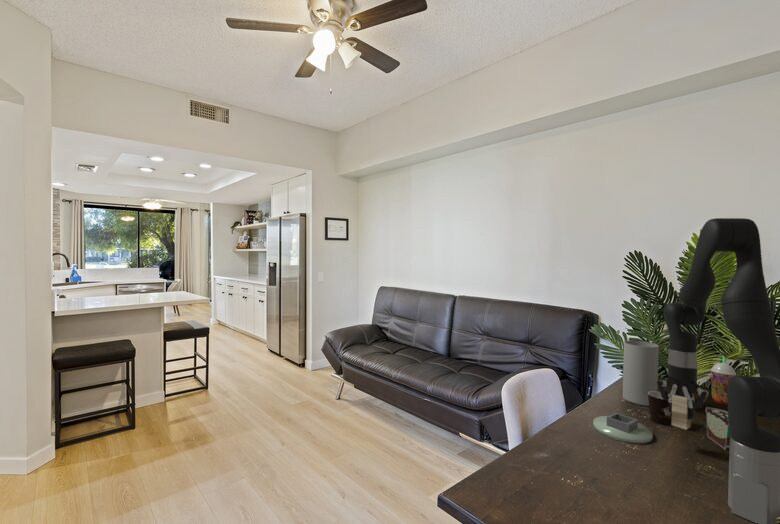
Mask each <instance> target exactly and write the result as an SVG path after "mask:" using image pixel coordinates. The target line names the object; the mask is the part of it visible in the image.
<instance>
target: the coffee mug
mask: <svg viewBox="0 0 780 524" xmlns="http://www.w3.org/2000/svg"><path fill="white" fill-rule="evenodd" d="M668 395H669V396H670V393H668ZM648 400H649V406H648V408H649V416H650V419H649V420H650V421H651V422H653V423H654V424H658V425H661V426H672V414H671V412H669V402H668V401H667V400H665V399H663V398H662V396H661V393H660V391H657V392H656V391H651V392H648Z"/></svg>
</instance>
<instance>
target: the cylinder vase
mask: <svg viewBox="0 0 780 524" xmlns="http://www.w3.org/2000/svg"><path fill="white" fill-rule="evenodd" d="M659 347H660V345H659V344H657V343H652V342H649V341H641V340H624V341H623V361H622V362H623V363H622V364H623V365H622V366H623V368H622V369H623V370H622V371H623V372H622V398H623V399H624V400H625V401H627V402H629V403H632V404H635V405H639V406H647V407H649V400H648V392H651V391H656V392H658V384H657V381H659V352H660V351H659V349H660V348H659Z"/></svg>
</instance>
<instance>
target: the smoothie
mask: <svg viewBox="0 0 780 524" xmlns="http://www.w3.org/2000/svg"><path fill="white" fill-rule="evenodd" d="M725 359H726V358H725V356H722V362H718V363H715V364H714V365H713V366H712V367H711V368H710V378H711V381H710V382H711V397H712V400H713V402H715V403H717V404H719V405H723V404H724V405H725V406H728V402H727V387H728V383H729V380H730V379H731V378H732V377H733V376H737V372H736V371H735V369H734V368H733V367H732V366H731V365H730V364H729V363H725Z"/></svg>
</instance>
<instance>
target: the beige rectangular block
mask: <svg viewBox="0 0 780 524" xmlns="http://www.w3.org/2000/svg"><path fill="white" fill-rule="evenodd" d="M688 407H689V406H688V401H687V398H685V396H682V395H677V394H675V395H672V423H671V427H675V428H677V429H681V430H685V431H686V430H688V429H690V428H691V427H692V419H691V420H690V419H688Z"/></svg>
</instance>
